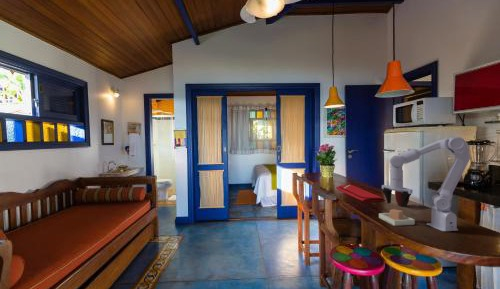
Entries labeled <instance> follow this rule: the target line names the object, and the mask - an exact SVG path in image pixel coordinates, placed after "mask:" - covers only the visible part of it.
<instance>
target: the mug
mask: <svg viewBox="0 0 500 289" xmlns="http://www.w3.org/2000/svg"><path fill="white" fill-rule="evenodd" d="M401 193H404V192H399V191H394V196H395V202H396V204H397V205H398V207H402V196H401ZM409 201H410V198H409V199H408V201H407V204H406V207H407V205H409ZM402 208H403V207H402Z"/></svg>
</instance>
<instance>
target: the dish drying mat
mask: <svg viewBox="0 0 500 289" xmlns="http://www.w3.org/2000/svg"><path fill="white" fill-rule="evenodd" d="M335 189H336V190H337V191H340V192H342V193H343V194H346V195H348V196H350V197H352V198H355V199H357V200H359V201H361V202H364V203H365V202H384V201H385V199H384V198H383V197H382V196H379V195H377V194H375V193H372V192H370V191H367V190H364V189H362V188H360V187H358V186H355V185H354V184H341V185H337V186H336V187H335Z"/></svg>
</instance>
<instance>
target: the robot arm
mask: <svg viewBox="0 0 500 289" xmlns="http://www.w3.org/2000/svg"><path fill="white" fill-rule="evenodd" d="M444 149H445V150H448V151H450V152H451V153H452V155H453V157H454V160H453V162H452V163H451V166H450V168H449V170H448V172H447V174H446V176H445V178H444V180H443V181H442V184H441V186H440V187H439V189H437V191H436V192H435V193H434V194H433V195H432V196H431V202H432V204H433V205H432V206H431V218H430V219H431V222H429V223H428V222H427V223H426V225H427V226H429V227H431V228H434V229H436V230H439V231H441V232H452V231H453V232H454V231H455V232H456V231H459V229H458V228H457V225H458V224H457V223H458V222H457V221H458V217H457V215H456V214H455V212H453V211H451V208H452V200H453V196H454V194H453V193H454V191H455V189H456V187H457V186H458V183H459V181H460V180H461V178H462V176H463V173H464V172H465V170H466V168H467V166H468V164H469V162H470V160H471V155H470V151H469V144H468V143H467V142H466V140H465V139H464V138H462V137H461V136H449V137H447V138H442V139H438V140H436V141H434V142H432V143H429V144H427V145H425V146H423V147H420V148H418V149H416V148H408V149H407V150H406V151H403V152H402V153H400V152H398V153H397V155H396V154H395V155H393V156H392V157H391V158H390V160H389V163H390V169H389V170H390V171H389V174H390V175H389V185H388V184H387V185H386V184H381V189H382V193H383V194H384V197H385V199H386V203H387V204H391V202H392V192H393V191H394V192H395V191H399V192H404V193H401V196H402V208H406V207H407V206H406V204H407V201H408V199H409V200H410V197H411V195H412V194H413V189H412V188H407V187H404V169H403V166H404V164H405V165H406V164H408V163H412V162H414V161H417V160H420V157H421V156H423V155H425V154H428V153H430V152H433V151H436V150H444ZM407 205H408V204H407Z"/></svg>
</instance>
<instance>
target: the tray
mask: <svg viewBox="0 0 500 289" xmlns="http://www.w3.org/2000/svg"><path fill="white" fill-rule="evenodd" d="M378 219H380V220H382V221H384V222H386V223H388V224H389V225H392V226H393V227H398V226H399V227H400V226H413V225H414V226H415V225H416V224H415V223H416V220H415V219H414V218H412V217H409V216H407V215H404V214H403V220H394V219H392V218H390V212H382V213H381V212H380V213H378Z"/></svg>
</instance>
